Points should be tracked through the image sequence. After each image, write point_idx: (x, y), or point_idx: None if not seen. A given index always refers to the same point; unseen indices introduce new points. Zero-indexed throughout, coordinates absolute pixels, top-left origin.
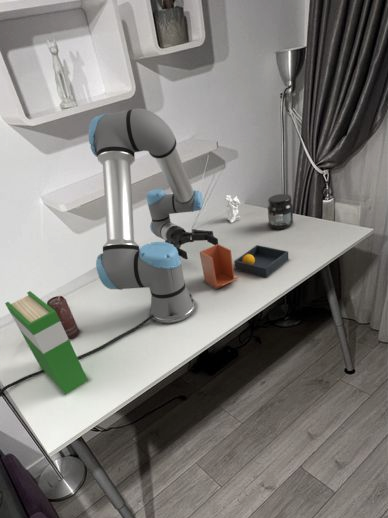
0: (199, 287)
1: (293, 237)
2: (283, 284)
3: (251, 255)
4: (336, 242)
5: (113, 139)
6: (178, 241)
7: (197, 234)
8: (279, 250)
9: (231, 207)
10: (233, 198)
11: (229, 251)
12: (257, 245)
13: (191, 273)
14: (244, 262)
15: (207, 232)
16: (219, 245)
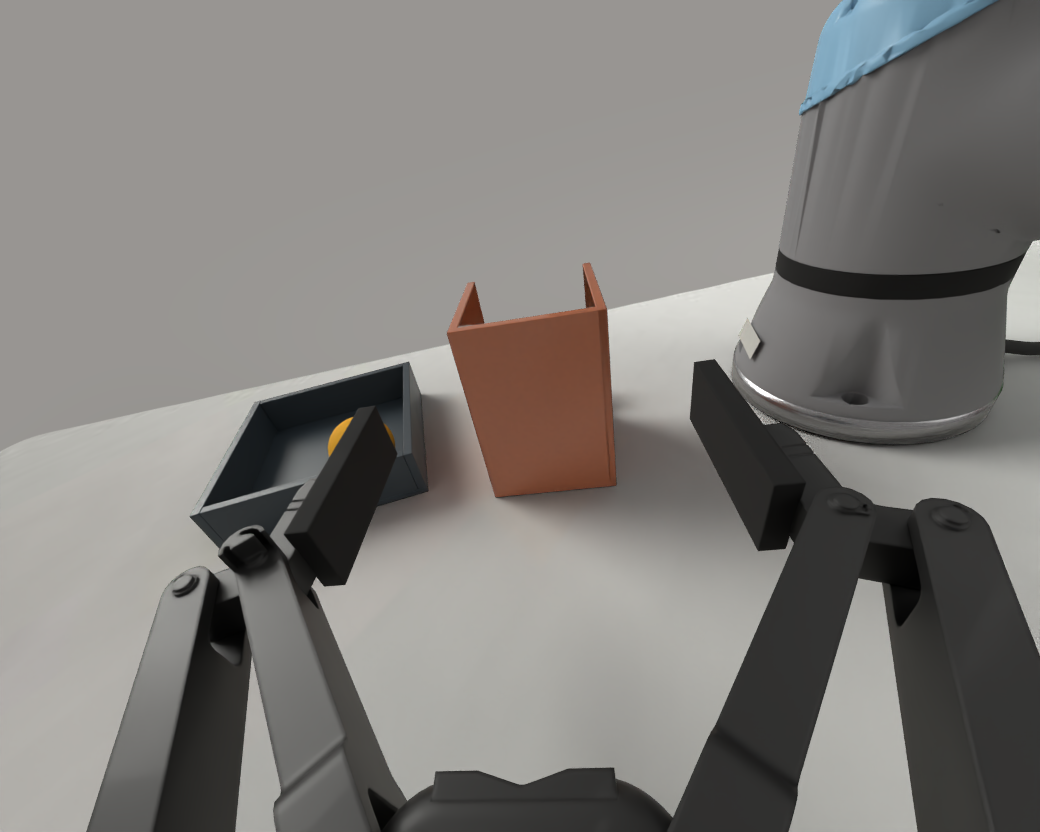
0: (666, 460)
1: (3, 568)
2: (428, 357)
3: (343, 421)
4: (111, 437)
5: None
6: (713, 729)
7: (306, 672)
8: (249, 421)
9: None
10: None
11: (475, 289)
12: (196, 509)
13: (651, 640)
14: (391, 437)
15: (202, 620)
16: (460, 319)
